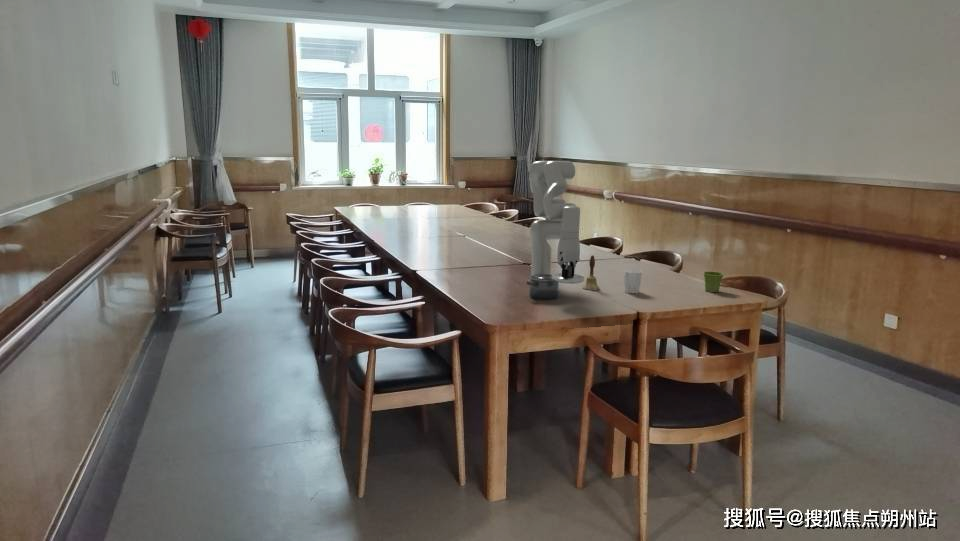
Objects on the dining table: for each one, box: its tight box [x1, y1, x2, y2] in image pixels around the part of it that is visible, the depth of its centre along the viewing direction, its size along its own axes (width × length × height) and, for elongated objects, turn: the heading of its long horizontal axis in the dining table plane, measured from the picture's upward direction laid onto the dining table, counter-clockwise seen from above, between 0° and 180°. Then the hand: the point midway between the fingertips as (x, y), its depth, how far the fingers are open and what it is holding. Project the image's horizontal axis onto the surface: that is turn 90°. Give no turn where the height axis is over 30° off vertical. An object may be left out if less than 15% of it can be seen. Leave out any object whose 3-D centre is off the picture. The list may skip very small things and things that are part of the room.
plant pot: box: [702, 271, 725, 293], centre depth 306 cm, size 9×9×9 cm
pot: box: [526, 274, 560, 301], centre depth 292 cm, size 18×13×9 cm
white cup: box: [623, 269, 642, 294], centre depth 302 cm, size 8×8×10 cm
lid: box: [552, 264, 585, 284], centre depth 277 cm, size 14×14×6 cm
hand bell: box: [582, 255, 601, 291], centre depth 308 cm, size 8×8×16 cm
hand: (567, 276), depth 278 cm, fingers closed on lid, 3 cm apart
